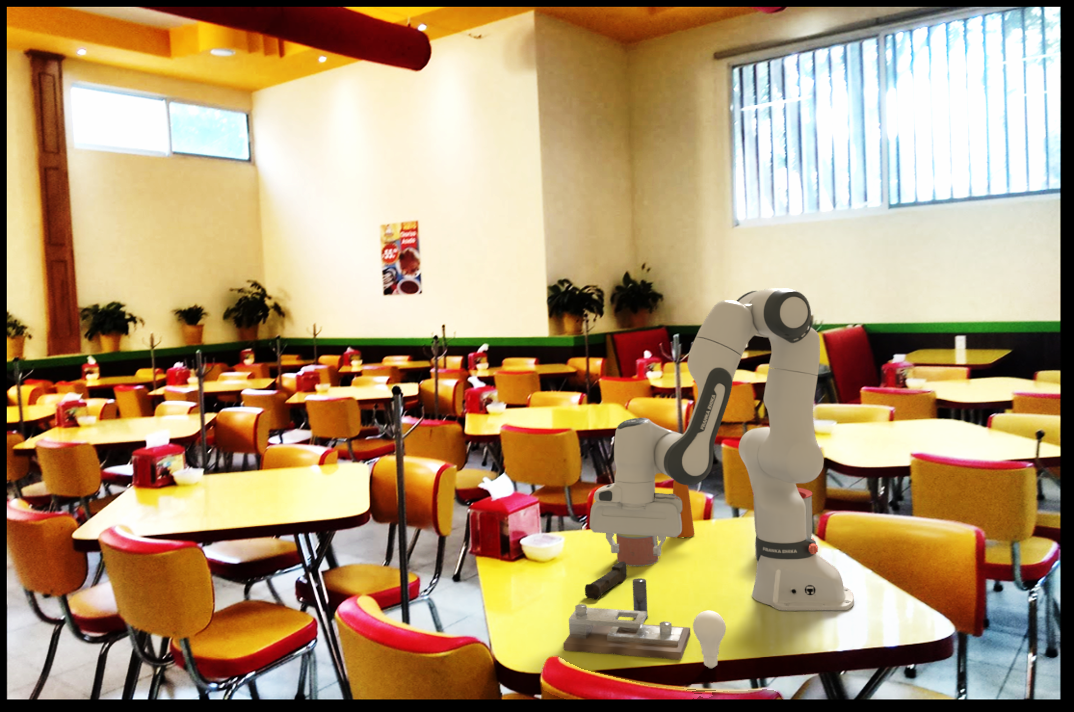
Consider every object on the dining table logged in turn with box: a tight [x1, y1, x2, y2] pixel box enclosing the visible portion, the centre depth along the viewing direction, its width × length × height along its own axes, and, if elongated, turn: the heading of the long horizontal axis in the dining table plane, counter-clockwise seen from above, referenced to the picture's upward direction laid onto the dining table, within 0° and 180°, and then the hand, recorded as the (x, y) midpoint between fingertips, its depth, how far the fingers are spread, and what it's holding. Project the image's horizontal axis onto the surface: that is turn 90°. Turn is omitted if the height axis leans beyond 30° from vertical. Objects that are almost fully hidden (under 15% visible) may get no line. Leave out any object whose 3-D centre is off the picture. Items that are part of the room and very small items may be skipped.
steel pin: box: [632, 577, 649, 621], centre depth 192 cm, size 3×3×8 cm
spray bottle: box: [672, 479, 695, 538], centre depth 254 cm, size 7×11×26 cm, turn 42°
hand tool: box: [584, 561, 628, 600], centre depth 213 cm, size 19×4×5 cm, turn 146°
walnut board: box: [563, 623, 691, 661], centre depth 179 cm, size 24×13×2 cm, turn 72°
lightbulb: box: [692, 610, 727, 669], centre depth 164 cm, size 6×6×11 cm
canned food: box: [615, 534, 660, 567], centre depth 234 cm, size 11×11×12 cm
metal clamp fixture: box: [568, 603, 683, 646], centre depth 178 cm, size 22×7×6 cm, turn 72°
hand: (636, 553), depth 191 cm, fingers open, 8 cm apart
